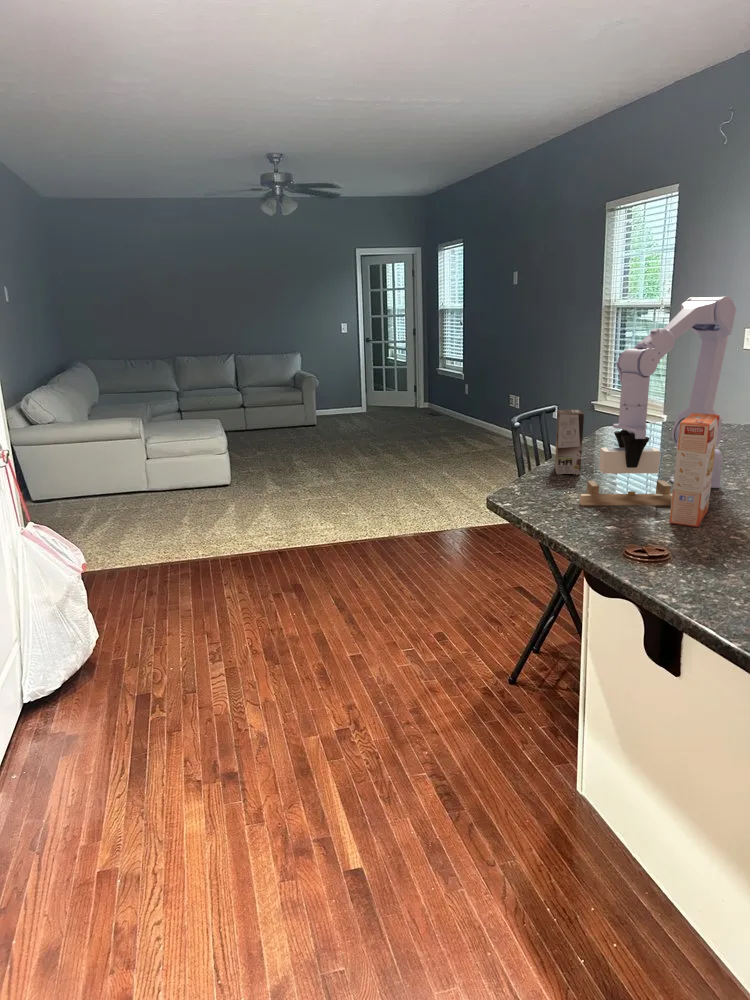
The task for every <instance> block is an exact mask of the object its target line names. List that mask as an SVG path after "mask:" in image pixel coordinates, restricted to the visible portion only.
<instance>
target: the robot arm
mask: <svg viewBox="0 0 750 1000" xmlns="http://www.w3.org/2000/svg"><path fill="white" fill-rule="evenodd" d="M736 313H737V307H736V305H735V303H734V301H733V299H732V297H730V296H728V295H726V296H725V295H723V296H709V297H708V296H707V297H701V296H700V297H696V296H691V297H689V298H687V299H686V300H685V301H684V302H682V303H681V305H680V310H679V312H678V313H677V314H676V315H675V316H674V317H672V319H671V320H670V321H669V322H668V323H667V324H666V325H665V326H664V327H658V328H652V329H651V330H649V331H650V332H649V334H648V335H646V336H645V337H644V338H643V339H642V340H640V341H638V342H637V344H636V345H635V346H634V347H633V348H626V349H625V350H624V351H622V352H621V353H620V355H619V357H618V360H617V361H616V369H617V372H618V374H619V377H618V380H619V383H621V385H620V398H619V413H618V414H619V415H618V423H613V424H612V427H613V429H620V430H616V431H614V436H615V439H616V441H617V444H618V448H625V456H626V465H627V467H628V468H637V466H638V463H639V460H640V457H641V454H642V452H643V449H644V448H646V445H647V444H648V443H649V441H650V437H649V436H647V427H648V425H647V417H648V416H647V415H648V406H649V405H648V404H649V403H648V402H649V393H650V392H649V390H650V379H651V376H652V375H654V373H655V372H656V369H658V364H659V363H660V361H661V360H662V359H663V357H665V356H666V355H667V354H668V353H669V352H671V350H673V349H674V347H675V344H676V342H675V341H676V340H677V339H678V338H679V337H681V336H682V335H683V334H684V333H686V332H687V331H689V330H691V331H692V332H693V333H695V335H698V336H699V337H700V339H701V346H700V351H699V356H698V362H697V365H696V371H695V376H694V380H693V386H692V390H691V394H690V395H691V396H690V399H689V404H688V407H687V408H685V409H683V410H682V411H681V412H679V413H678V416H677V418H676V421H675V424H674V425H673V427H672V431H671V439H672V441H673V442H674V443H675V445H676V447H675V448H677V445H678V436H679V427H680V422H681V421H683V420H684V419H685V418H686V417H688V416H689V415H690V414H691V413H699V414H716V415H719V414H718V413H717V412H716V411H715V410H714V407H715V406H714V405H715V402H716V401H715V400H716V395H717V392H718V387H719V381H720V377H721V373H722V367H723V362H724V357H725V352H726V348H727V343H728V339H729V336H730V335H732V331H733V328H734V327H733V326H734V323H735V317H736ZM722 423H723V419H722V417H720V418H719V425H718V434H717V441H716V449H715V457H714V466H713V474H712V482H711V489H720V488H721V477H722V466H723V456H722V452H721V450H720V449H718V448H717V447H718V446H719V444H720V442H721V440H722V436H723V435H722V434H723V433H722ZM669 481H670V482H671V483H672V484H673V483H674V477H671V478H669Z"/></svg>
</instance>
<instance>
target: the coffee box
mask: <svg viewBox="0 0 750 1000" xmlns="http://www.w3.org/2000/svg"><path fill="white" fill-rule="evenodd" d="M584 419H585V413H584V412H583V410H582V409H581V408H580V409H579V408H578V409H576V408H575V409H573V408H572V409H557V411H556V433H555V435H556V436H555V456H554V458H555V459H554V469H555V473H556V475H562V474H574V475H573V476H581V468H582V467H581V466H582V452H583V436H584V435H583V434H584ZM575 474H576V475H575ZM578 474H579V475H578Z"/></svg>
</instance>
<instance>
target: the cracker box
mask: <svg viewBox="0 0 750 1000" xmlns="http://www.w3.org/2000/svg"><path fill="white" fill-rule="evenodd" d="M719 418H721V416H720V415H719V414H718V415H716V414H699V413H691V414H690V415H689V416H688V417H686V418H685V419H684V420H683V421H681V422H680V427H679V436H678V445H677V447H676V456H675V457H676V458H675V466H674V476H673V478H674V483H673V482H672V484H673V485H672V493H671V494H672V501H671V505H670V513H669V524H674V525H680V526H686V527H687V526H688V527H695V528H699V526H700V524H701V522H702V521H703V519H704V517H705V515H706V514H708V513H707V512H708V511H709V506H710V505H709V503H710V496H711V490H712V488H711V482H712V474H713V466H714V457H715V449H717V447H716V441H717V434H718V425H719Z"/></svg>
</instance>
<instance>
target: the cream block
mask: <svg viewBox="0 0 750 1000" xmlns="http://www.w3.org/2000/svg"><path fill="white" fill-rule="evenodd" d="M660 461H661V450H660V449H658V448H656V447H644V449H643V452H642V454H641V457H640V460H639V463H638V466H637V468H628V467H627V465H626V456H625V448H619V447H600V450H599V464H598V465H599V466H598V470H599V471H600V472H601V473H602V474H660V473H659V471H660Z"/></svg>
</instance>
